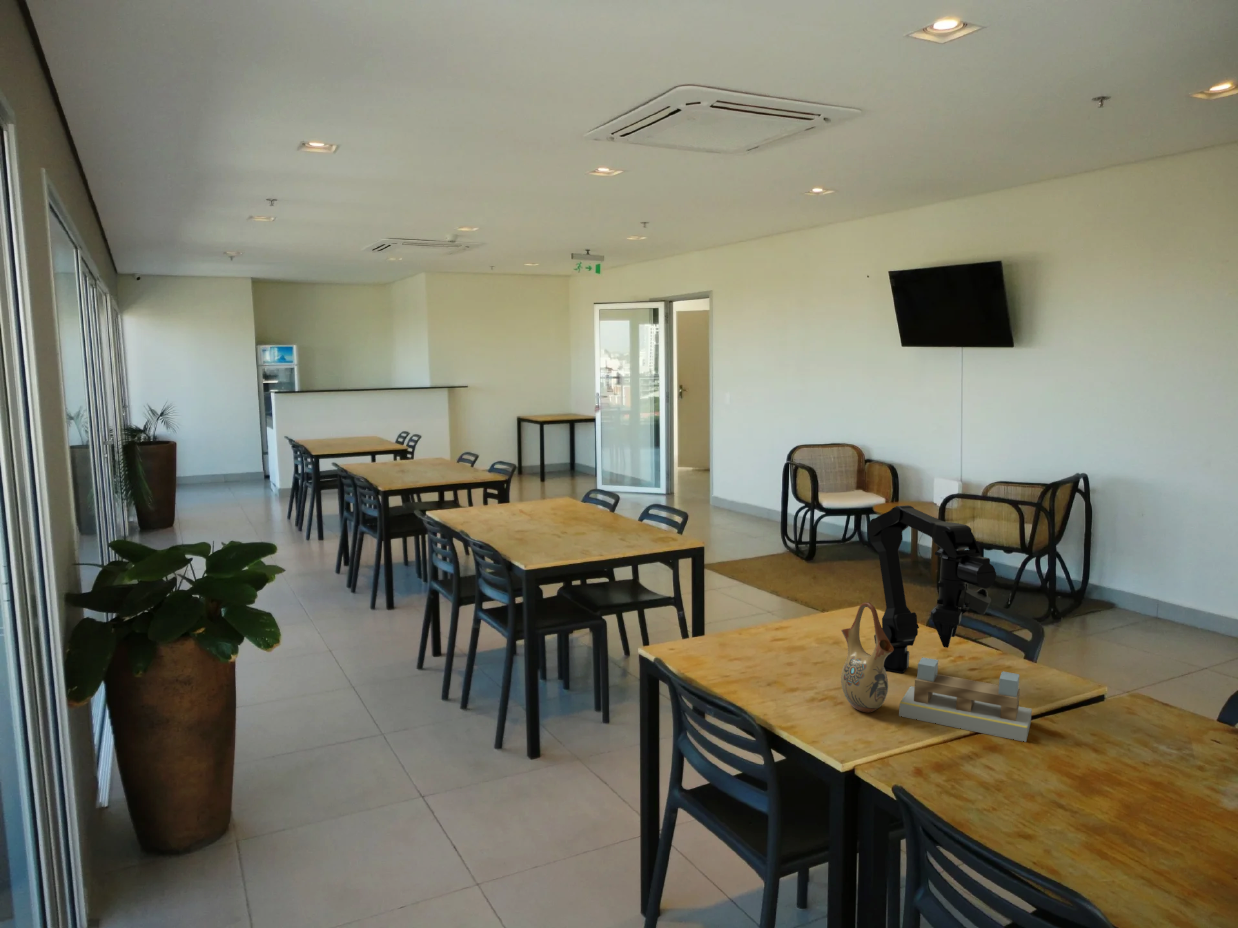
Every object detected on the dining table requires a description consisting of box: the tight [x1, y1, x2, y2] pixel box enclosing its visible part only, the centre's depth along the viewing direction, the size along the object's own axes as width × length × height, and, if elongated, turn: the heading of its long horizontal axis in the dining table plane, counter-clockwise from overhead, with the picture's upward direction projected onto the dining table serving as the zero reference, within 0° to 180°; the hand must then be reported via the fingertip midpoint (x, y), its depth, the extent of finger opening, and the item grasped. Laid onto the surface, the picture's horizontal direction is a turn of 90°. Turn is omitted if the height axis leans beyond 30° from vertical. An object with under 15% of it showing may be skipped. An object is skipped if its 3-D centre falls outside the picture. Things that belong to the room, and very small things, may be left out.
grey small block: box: [916, 657, 939, 682], centre depth 198 cm, size 4×5×4 cm
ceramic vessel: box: [840, 601, 894, 713], centre depth 198 cm, size 16×9×25 cm, turn 22°
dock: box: [898, 686, 1033, 743], centre depth 194 cm, size 26×12×3 cm, turn 61°
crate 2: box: [998, 671, 1020, 697], centre depth 189 cm, size 4×5×4 cm
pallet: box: [914, 673, 1021, 721], centre depth 194 cm, size 21×6×5 cm, turn 61°
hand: (949, 641), depth 207 cm, fingers open, 9 cm apart
